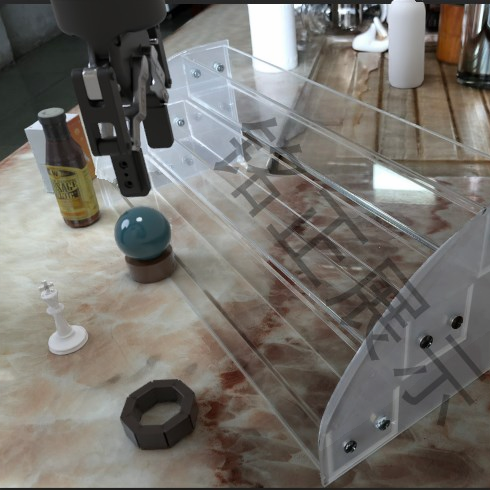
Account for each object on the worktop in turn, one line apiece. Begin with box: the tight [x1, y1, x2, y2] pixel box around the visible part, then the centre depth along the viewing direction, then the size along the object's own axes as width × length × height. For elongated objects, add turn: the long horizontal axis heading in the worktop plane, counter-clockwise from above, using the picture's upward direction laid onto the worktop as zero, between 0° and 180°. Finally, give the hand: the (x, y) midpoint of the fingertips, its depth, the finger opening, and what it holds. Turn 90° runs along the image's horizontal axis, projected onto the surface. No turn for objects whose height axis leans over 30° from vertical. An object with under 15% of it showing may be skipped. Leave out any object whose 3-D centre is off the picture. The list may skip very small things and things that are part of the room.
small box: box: [24, 112, 97, 194], centre depth 112 cm, size 8×6×13 cm
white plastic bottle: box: [387, 0, 427, 90], centre depth 142 cm, size 9×9×30 cm
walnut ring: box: [119, 378, 200, 450], centre depth 65 cm, size 8×8×2 cm
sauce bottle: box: [37, 107, 101, 228], centre depth 99 cm, size 6×6×20 cm
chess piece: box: [37, 279, 89, 356], centre depth 75 cm, size 5×5×10 cm
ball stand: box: [113, 205, 177, 284], centre depth 87 cm, size 8×8×10 cm
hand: (150, 169), depth 49 cm, fingers open, 8 cm apart
